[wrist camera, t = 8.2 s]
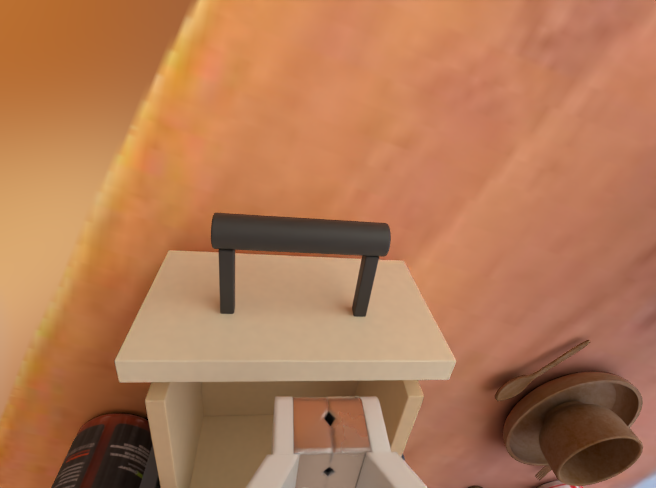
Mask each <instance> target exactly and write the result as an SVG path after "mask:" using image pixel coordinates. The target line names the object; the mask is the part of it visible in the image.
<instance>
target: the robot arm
mask: <svg viewBox="0 0 656 488" xmlns="http://www.w3.org/2000/svg"><path fill="white" fill-rule="evenodd" d="M246 488H428V487H427V486H426V485H425V484H424V483H423V481H422V480H421V479H420V478H419V477H418V476H417V475H416V473H415V472H414V471H413V470H412V469H411V468H410V467H409V465H408V464H407V463H406V462H405V461H404V460H403V459H402V458H401V456H400V455H399V454H398V453H397V452H391V448H390V444H389V440H388V436H387V432H386V427H385V423H384V419H383V415H382V411H381V407H380V402H379V400H378V398H377V397H376V396H370V397H359V396H337V397H275V401H274V414H273V428H272V446H271V454H268V455H266V457H265V459H264V460H263V462H262V463H261V465H260V466H259V468H258V469H257V471H256V472H255V474H254V475H253V477H252V478H251V480H250V482H249V483H248V485H247V486H246Z"/></svg>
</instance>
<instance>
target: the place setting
mask: <svg viewBox="0 0 656 488" xmlns="http://www.w3.org/2000/svg"><path fill="white" fill-rule="evenodd" d="M589 343H590V340H587V341H585V342H583V343H581V344H579V345H577V346H576V347H574V348H572V349H571V350H569V351H568V352H566V353H565V354H563V355H562V356H560V357H559V358H557V359H556V360H554V361H553V362H551V363H550V364H548V365H547V366H545V367H543V368H542V369H540V370H539V371H537V372H535V373H533V374H530V375H522V376H518V377H515V378H513V379H511V380H510V381H508V382H507V383H505V384H504V385H503V386H502V387H501V388H500V389H499V390H498V391H497V393H496V395H495V399H496V400H497V401H503V400H506V399H509V398H512V397H514V396H516V395H518V394H519V393H521V392H522V391H523V390H524V389H525V388H526V387H527V386H528V385H529V384H530V382H532V381H533V380H534V379H535V378H537V377H538V376H540V375H541V374H543V373H544V372H546V371H548V370H549V369H551V368H553V367H554V366H556V365H557V364H559V363H561V362H562V361H564V360H566V359H567V358H569V357H570V356H572V355H574V354H575V353H577V352H578V351H580V350H581V349H582V348H584V347H585V346H586V345H588V344H589ZM641 408H642V396H641V394H640V392H639V391H638V389H637V388H636V387H634V386H633V385H632V384H631V383H630V382H629V381H627V380H625V379H624V378H622V377H620V376H617V375H614V374H611V373H605V372H594V371H593V372H580V373H574V374H570V375H566V376H563V377H559V378H556V379H554V380H551V381H549V382H547V383H545V384H543V385H541V386H539V387H537V388H536V389H534V390H533V391H531V392H530V393H529V394H527V395H526V396H525V397H524V398H522V399H521V400H520V401H519V402H518V403H517V404H516V405H515V407H514V408H513V409H512V410H511V412H510V413H509V415H508V417H507V419H506V421H505V424H504V428H503V440H504V444H505V446H506V449H507V451H508V453H509V454H510V455H511V457H512V458H514V459H515V460H517V461H519V462H521V463H524V464H528V465H536V466H544V467H543V468H542V469H541V470H540V471H539V472H538V473H537V474H536V476H537V475H538V474H539V473H540V472H541V473H540V474H539V475H538V476H537V477H539V478H540V477H541V476H542V477H541V478H540V479H539V478H538V479H539V480H541V479H542V478H543V477H544V476H545V475H546V474H547V473H548V472H549V471H551V470H553V472H554V474H555V475H556V477H557V479H558V480H559V481H560V482H562V483H564V484H566V485H571V486H585V485H591V484H595V483H599V482H602V481H605V480H607V479H610V478H612V477H614V476H616V475H618V474H620V473H622V472H623V471H625V470H626V469H628V468H629V467H630V466H631V465H633V464H634V463H635V462H636V461H637V459H638V458H639V457H640V455H641V453H642V449H643V445H642V442H641V441H640V440H639V439H638V438H637V436H636V435H635V434H634V433H633V432H632V431H631V429H630V427H631V426H632V424H633V423H634V422H635V420H636V419H637V417H638V416H639V414H640V411H641ZM536 476H535V477H536ZM537 477H536V478H537ZM470 488H482V487H479V486H474V487H470Z"/></svg>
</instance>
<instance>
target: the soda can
mask: <svg viewBox="0 0 656 488" xmlns="http://www.w3.org/2000/svg"><path fill="white" fill-rule="evenodd" d="M537 488H583V487H582V486H571V485H566V484H564V483H562V482H560V481H552V482H549V483H546V484H543V485H541V486H539V487H537Z"/></svg>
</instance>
